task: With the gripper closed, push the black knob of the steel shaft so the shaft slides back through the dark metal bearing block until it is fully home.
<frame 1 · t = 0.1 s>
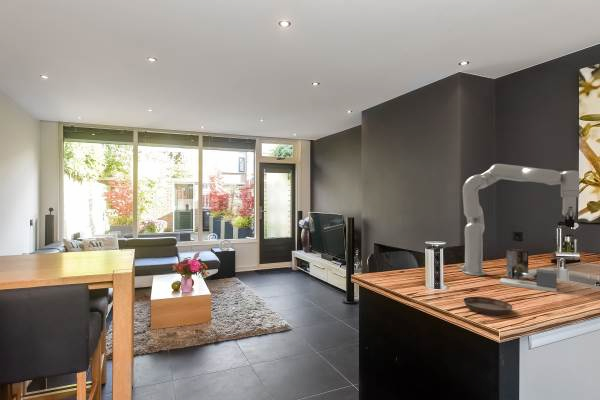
hand: (569, 226, 175), 31 cm above the worktop, tool pointing down, fingers open, 9 cm apart
base board: (527, 285, 173), on the worktop
shaft: (527, 275, 173), point 6 cm above the worktop, slide at 7.0 cm
bearing block: (546, 278, 168), on the base board, point 5 cm above the worktop
plant saucer: (487, 310, 136), on the worktop
coffee box: (517, 277, 191), on the worktop
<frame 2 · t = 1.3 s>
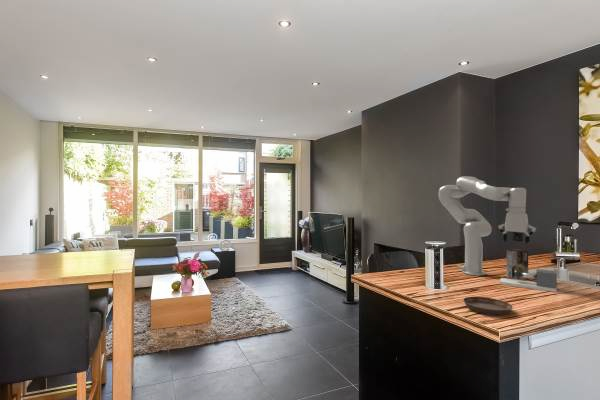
hand: (516, 242, 178), 22 cm above the worktop, tool pointing down, fingers open, 9 cm apart
nothing on the worktop moved.
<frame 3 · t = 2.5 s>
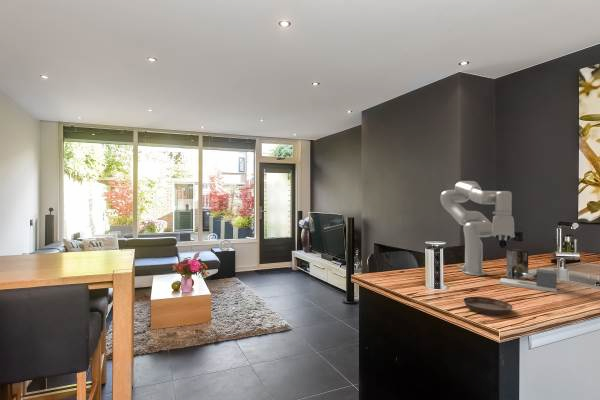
hand: (502, 247, 179), 19 cm above the worktop, tool pointing down, fingers closed
nothing on the worktop moved.
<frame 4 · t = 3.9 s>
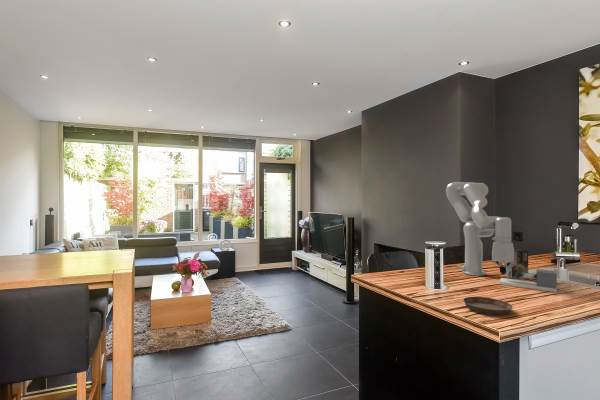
hand: (503, 273, 179), 5 cm above the worktop, tool pointing down, fingers closed
nothing on the worktop moved.
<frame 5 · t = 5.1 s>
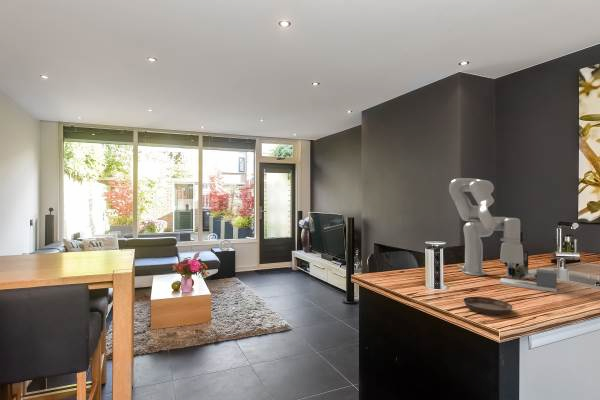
hand: (511, 275, 177), 5 cm above the worktop, tool pointing down, fingers closed
shaft: (530, 275, 172), point 6 cm above the worktop, slide at 6.0 cm, touching gripper
everything else where it was.
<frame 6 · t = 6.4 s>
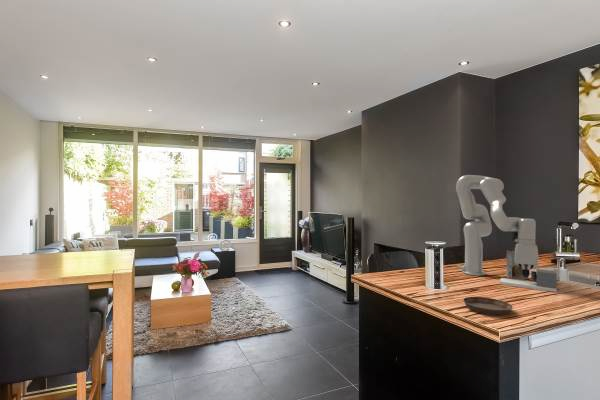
hand: (525, 276, 173), 5 cm above the worktop, tool pointing down, fingers closed
shaft: (545, 277, 169), point 6 cm above the worktop, slide at -0.3 cm, touching gripper
everything else where it was.
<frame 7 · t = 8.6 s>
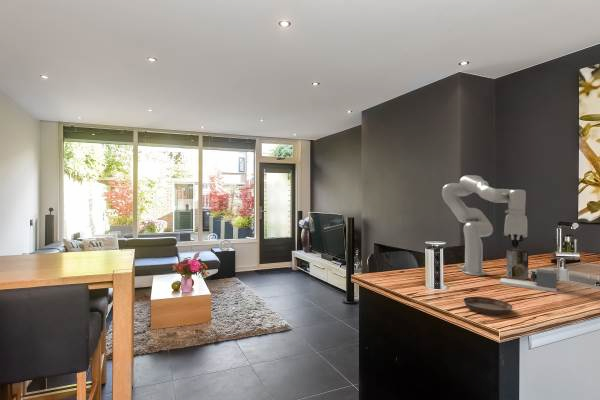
hand: (514, 247, 176), 20 cm above the worktop, tool pointing down, fingers closed
shaft: (544, 277, 169), point 6 cm above the worktop, slide at 0.0 cm
everything else where it was.
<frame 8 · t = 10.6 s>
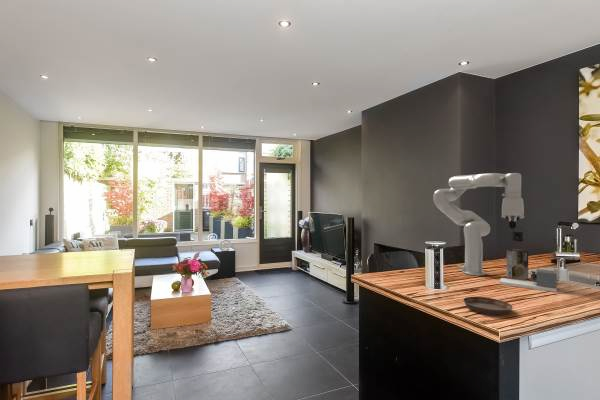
hand: (512, 228, 183), 29 cm above the worktop, tool pointing down, fingers closed
nothing on the worktop moved.
at the end: shaft slide at 0.0 cm; the gripper is holding nothing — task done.
